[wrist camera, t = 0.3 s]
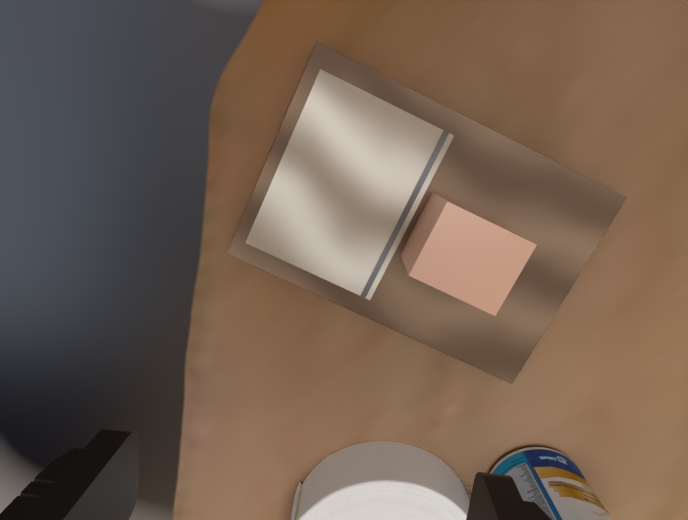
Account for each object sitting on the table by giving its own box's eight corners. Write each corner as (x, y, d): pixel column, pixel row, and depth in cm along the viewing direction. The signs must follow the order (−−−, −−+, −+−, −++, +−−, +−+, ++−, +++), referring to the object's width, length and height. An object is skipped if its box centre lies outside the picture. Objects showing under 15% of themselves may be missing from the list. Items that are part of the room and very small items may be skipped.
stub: (432, 191, 34) (447, 201, 28) (506, 227, 35) (536, 244, 29) (400, 253, 35) (408, 275, 30) (472, 288, 36) (495, 316, 30)
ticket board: (318, 46, 34) (315, 39, 32) (615, 195, 36) (632, 198, 33) (231, 249, 37) (224, 255, 35) (506, 375, 39) (515, 388, 37)
